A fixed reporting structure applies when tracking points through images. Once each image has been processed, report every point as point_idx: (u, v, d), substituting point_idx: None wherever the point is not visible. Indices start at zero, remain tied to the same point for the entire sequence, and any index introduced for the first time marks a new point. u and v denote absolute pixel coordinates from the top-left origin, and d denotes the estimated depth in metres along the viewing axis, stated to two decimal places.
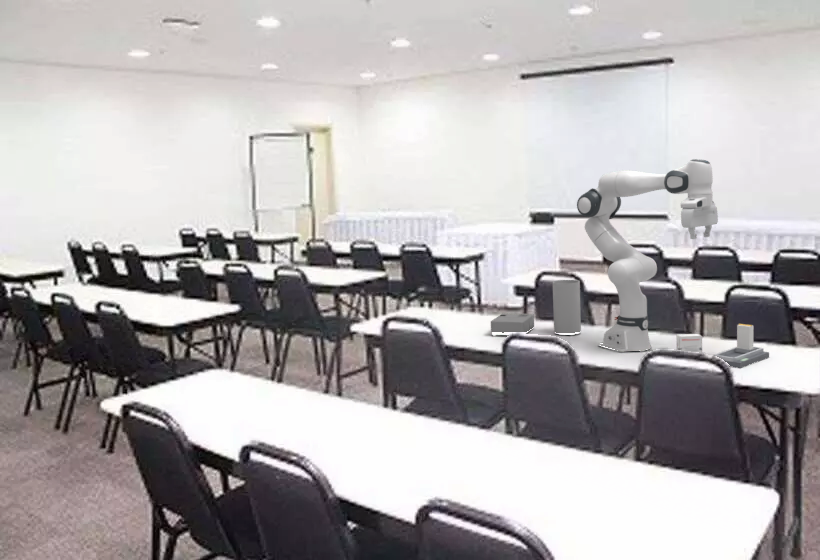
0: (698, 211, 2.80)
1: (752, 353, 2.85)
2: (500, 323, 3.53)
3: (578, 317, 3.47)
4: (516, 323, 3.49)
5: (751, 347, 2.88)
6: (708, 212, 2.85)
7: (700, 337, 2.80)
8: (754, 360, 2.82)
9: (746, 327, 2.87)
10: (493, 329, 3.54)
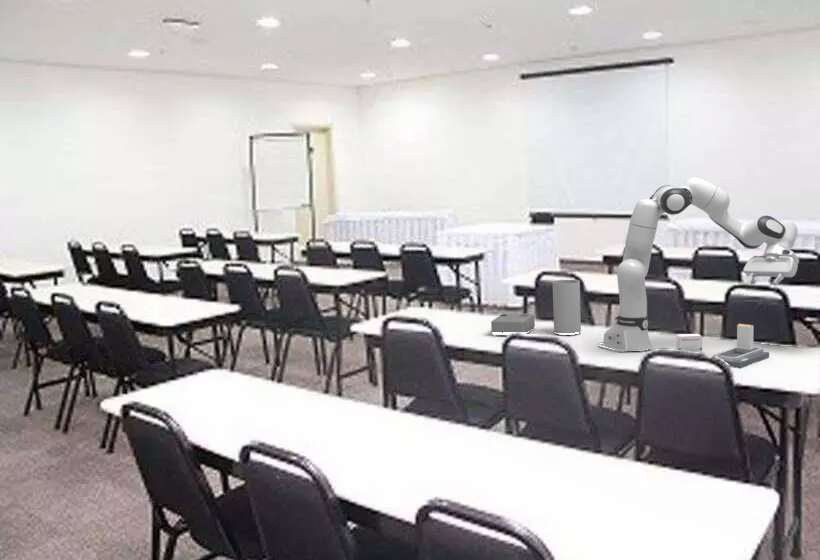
0: None
1: (752, 353, 2.85)
2: (501, 323, 3.52)
3: (578, 317, 3.47)
4: (517, 323, 3.49)
5: (751, 347, 2.88)
6: None
7: (700, 337, 2.80)
8: (754, 360, 2.82)
9: (746, 327, 2.87)
10: (494, 329, 3.54)
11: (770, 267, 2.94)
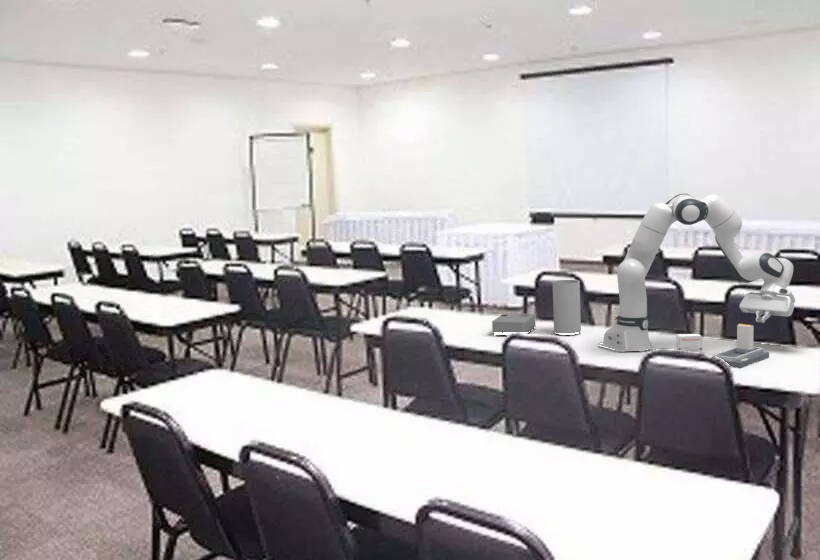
0: None
1: (752, 353, 2.85)
2: (502, 323, 3.52)
3: (578, 317, 3.47)
4: (518, 323, 3.49)
5: (751, 347, 2.88)
6: None
7: (700, 337, 2.80)
8: (754, 360, 2.82)
9: (746, 327, 2.87)
10: (495, 329, 3.54)
11: (767, 305, 2.96)
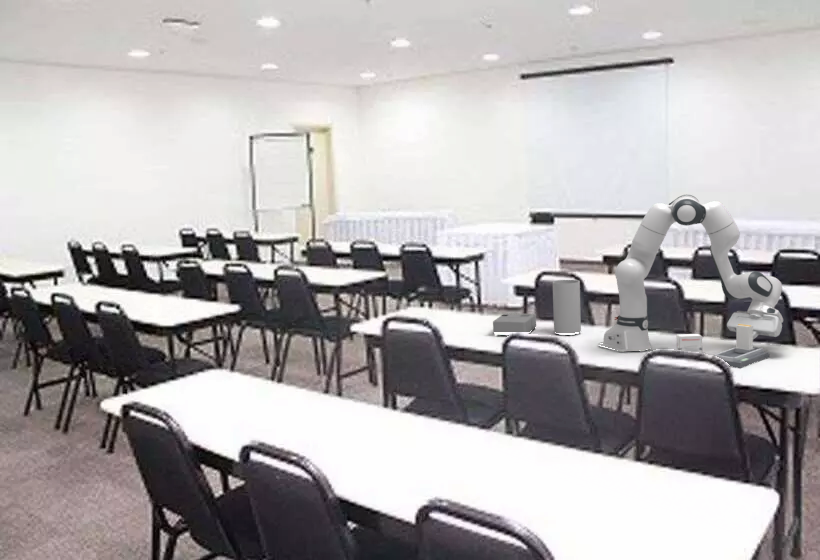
0: None
1: (752, 353, 2.85)
2: (502, 323, 3.52)
3: (578, 317, 3.47)
4: (519, 323, 3.49)
5: (750, 347, 2.88)
6: None
7: (700, 337, 2.80)
8: (754, 360, 2.82)
9: (745, 327, 2.87)
10: (495, 329, 3.54)
11: (754, 324, 2.91)
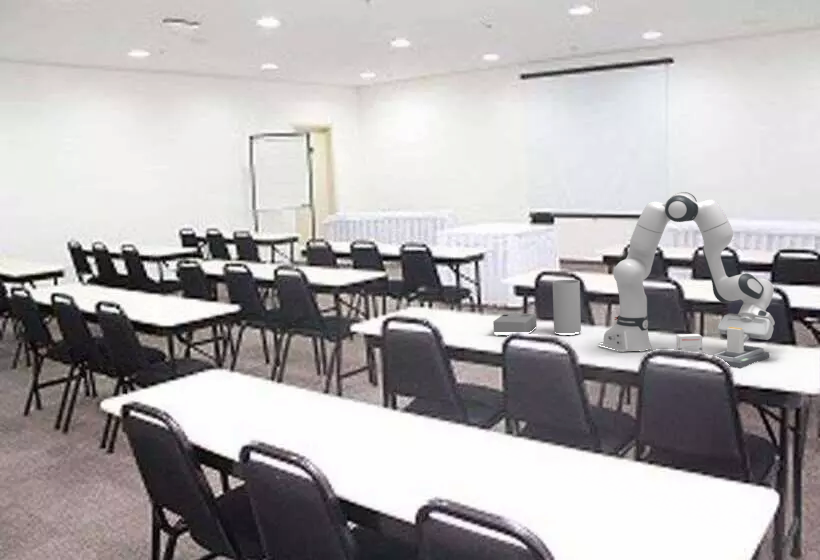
0: None
1: (752, 353, 2.85)
2: (503, 323, 3.52)
3: (578, 317, 3.47)
4: (519, 323, 3.49)
5: (741, 350, 2.83)
6: None
7: (700, 337, 2.80)
8: (754, 360, 2.82)
9: (736, 330, 2.82)
10: (496, 329, 3.54)
11: (745, 327, 2.87)
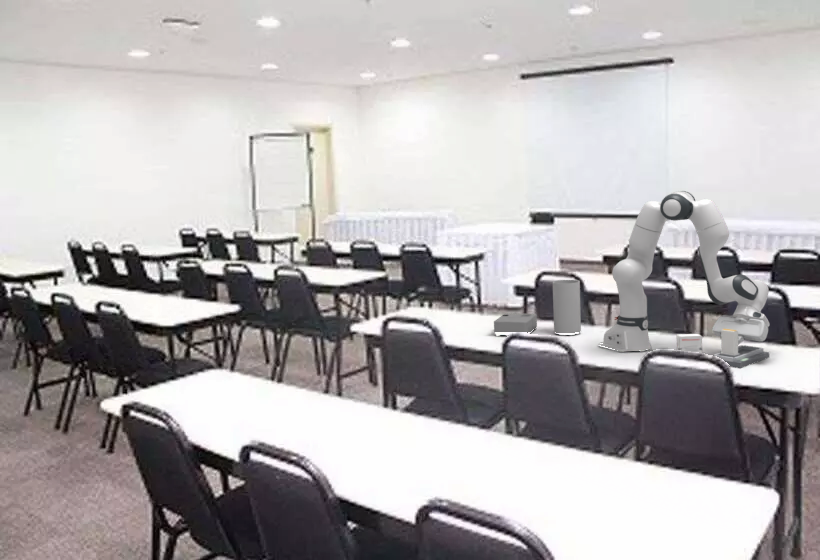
0: None
1: (752, 353, 2.85)
2: (503, 323, 3.52)
3: (578, 317, 3.47)
4: (519, 323, 3.49)
5: (735, 352, 2.81)
6: None
7: (700, 337, 2.80)
8: (754, 360, 2.82)
9: (730, 332, 2.80)
10: (496, 329, 3.54)
11: (740, 329, 2.84)
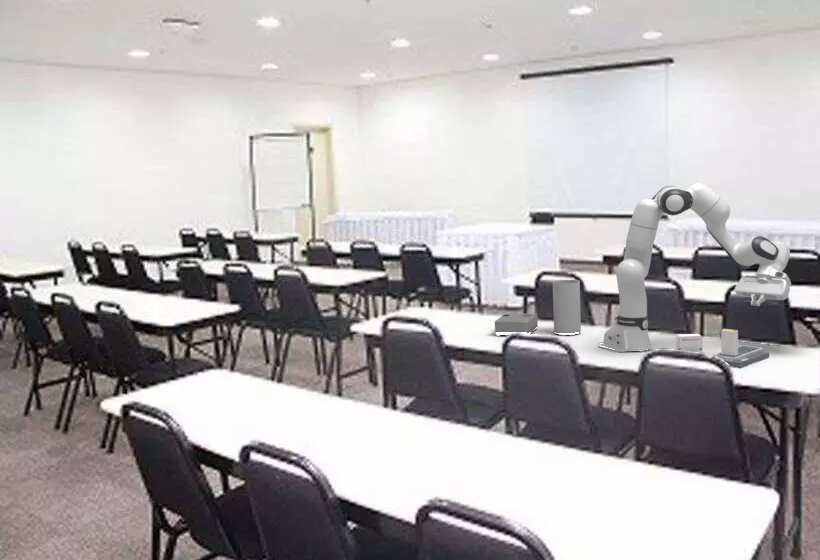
0: None
1: (752, 353, 2.85)
2: (504, 323, 3.52)
3: (578, 317, 3.47)
4: (520, 323, 3.49)
5: (735, 352, 2.81)
6: None
7: (700, 337, 2.80)
8: (754, 360, 2.82)
9: (730, 332, 2.80)
10: (497, 329, 3.54)
11: (762, 288, 2.92)
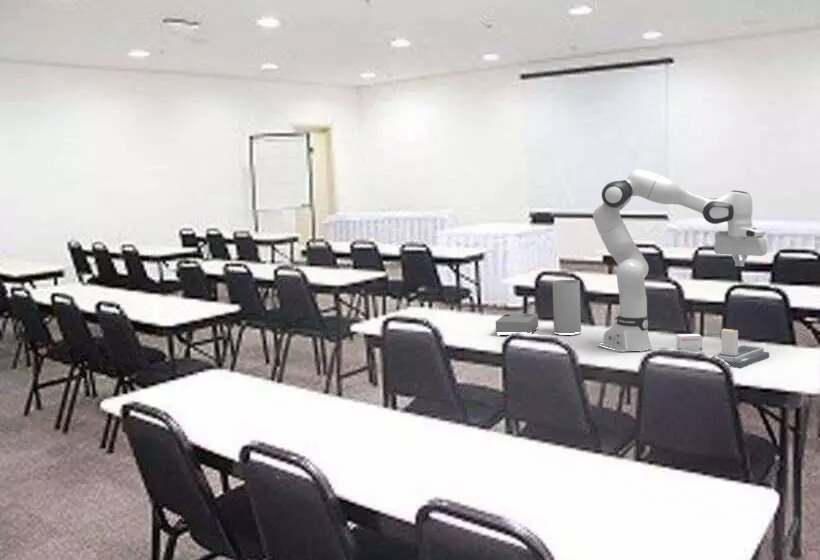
0: None
1: (752, 353, 2.85)
2: (505, 323, 3.52)
3: (578, 317, 3.47)
4: (521, 323, 3.49)
5: (735, 352, 2.81)
6: None
7: (700, 337, 2.80)
8: (754, 360, 2.82)
9: (730, 332, 2.80)
10: (498, 329, 3.54)
11: (740, 249, 2.92)
